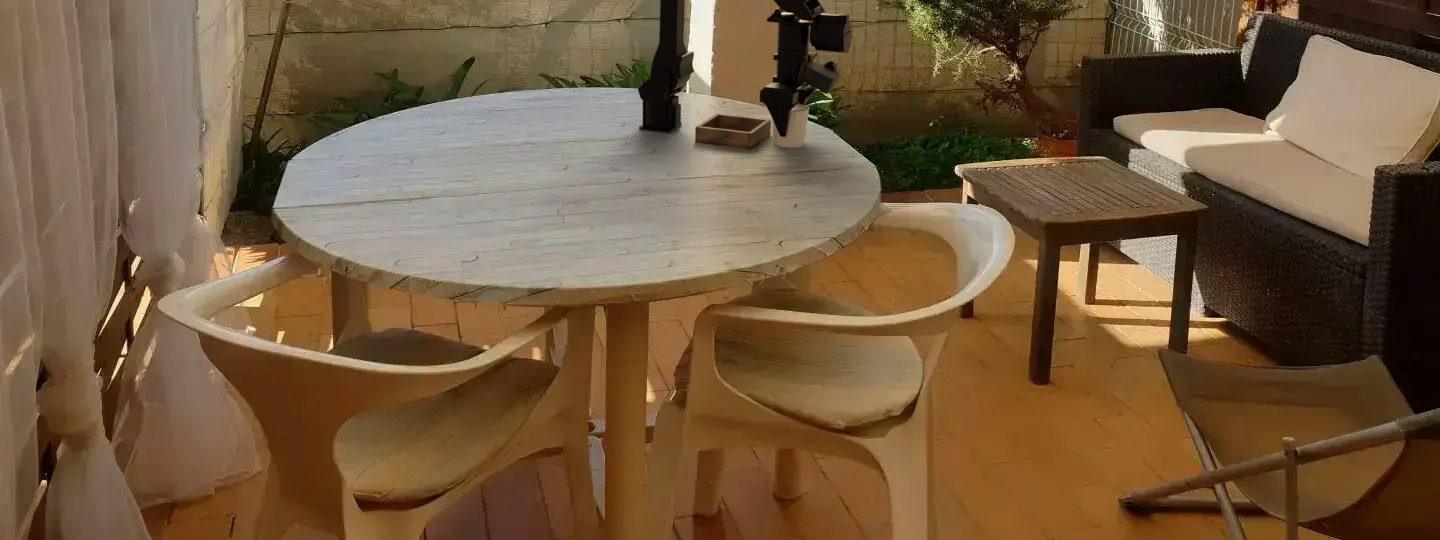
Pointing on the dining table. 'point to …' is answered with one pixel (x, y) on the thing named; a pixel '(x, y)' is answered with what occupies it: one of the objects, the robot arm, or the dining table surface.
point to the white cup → (793, 128)
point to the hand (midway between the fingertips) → (789, 131)
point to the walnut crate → (733, 131)
